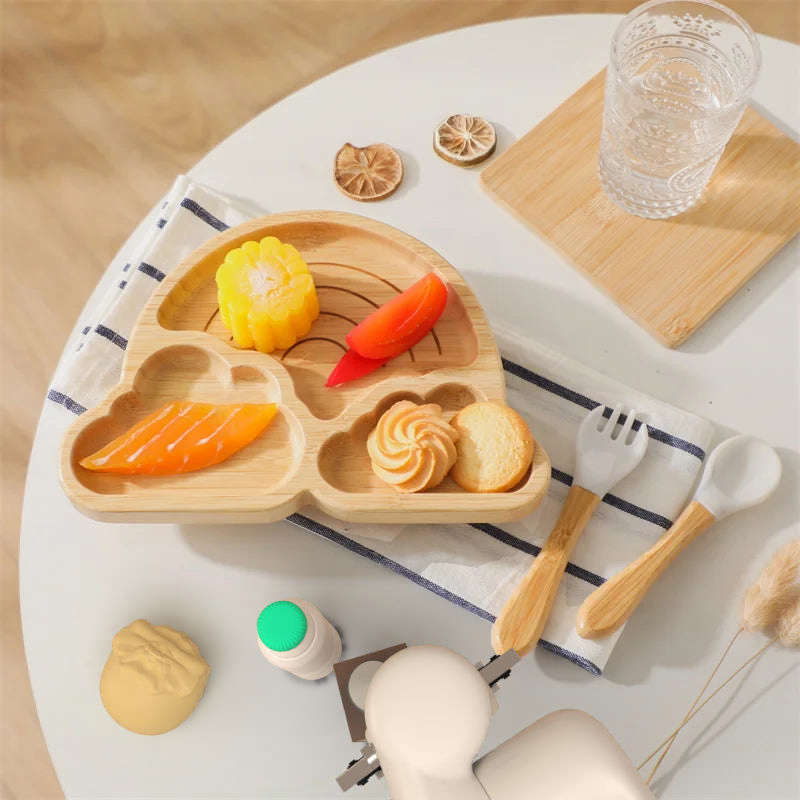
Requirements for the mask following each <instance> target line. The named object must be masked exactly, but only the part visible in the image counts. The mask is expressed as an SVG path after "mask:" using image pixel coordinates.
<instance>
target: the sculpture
mask: <svg viewBox="0 0 800 800" xmlns="http://www.w3.org/2000/svg"><path fill="white" fill-rule="evenodd" d="M111 649H112V651H111V653H110V654H109V656H108V658H107V660H106V661H105V664H104V666H103V668H102V671H101V675H100V677H99V678H100V679H99V696H100V699H101V702H102V705H103V708H104V709H105V711H106V712H107V714H108V715H109V717H110V718H111V719H112V720H113V721H114V722H115V723H116V724H117V725H119V726H120V727H121V728H123V729H125V730H127V731H129V732H131V733H133V734H137V735H141V736H148V737H149V736H150V737H151V736H159V735H164V734H166V733H169V732H171V731H173V730H175V729H177V728H178V727H179V726H181V725H182V724H183V723H184V722H185V721H187V720H188V718H189V717H190V716H191V715H192V714H193V713H194V711H195V710H196V708H197V707H198V705H199V703H200V701H201V699H202V697H203V695H204V692H205V690H206V686H207V682H208V679H209V676H210V675H211V672H212V671H211V670H212V669H211V666H210V665H209V664H208V663H207V661H206V660H205V659H204V658H203V657H202V655H201V654H200V653H201V652H200V648H199V647H198V645H196V643H195V642H194V641H192V640H191V637H190V636H189V635H188V634H187V633H185V632H180V631H178V630H176V629H175V628H173V627H171V626H170V625H166V624H159V625H154V624H153V625H152V624H151V622H150V621H149V620H148V619H145V618H144V619H143V618H137V619H134V620H133V621H132V622H131V623H130V624H128V625H126V626H124V627H123V628H122V629H119V631H118V632H116V633H115V635H114V636H113V638H112V641H111Z"/></svg>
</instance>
